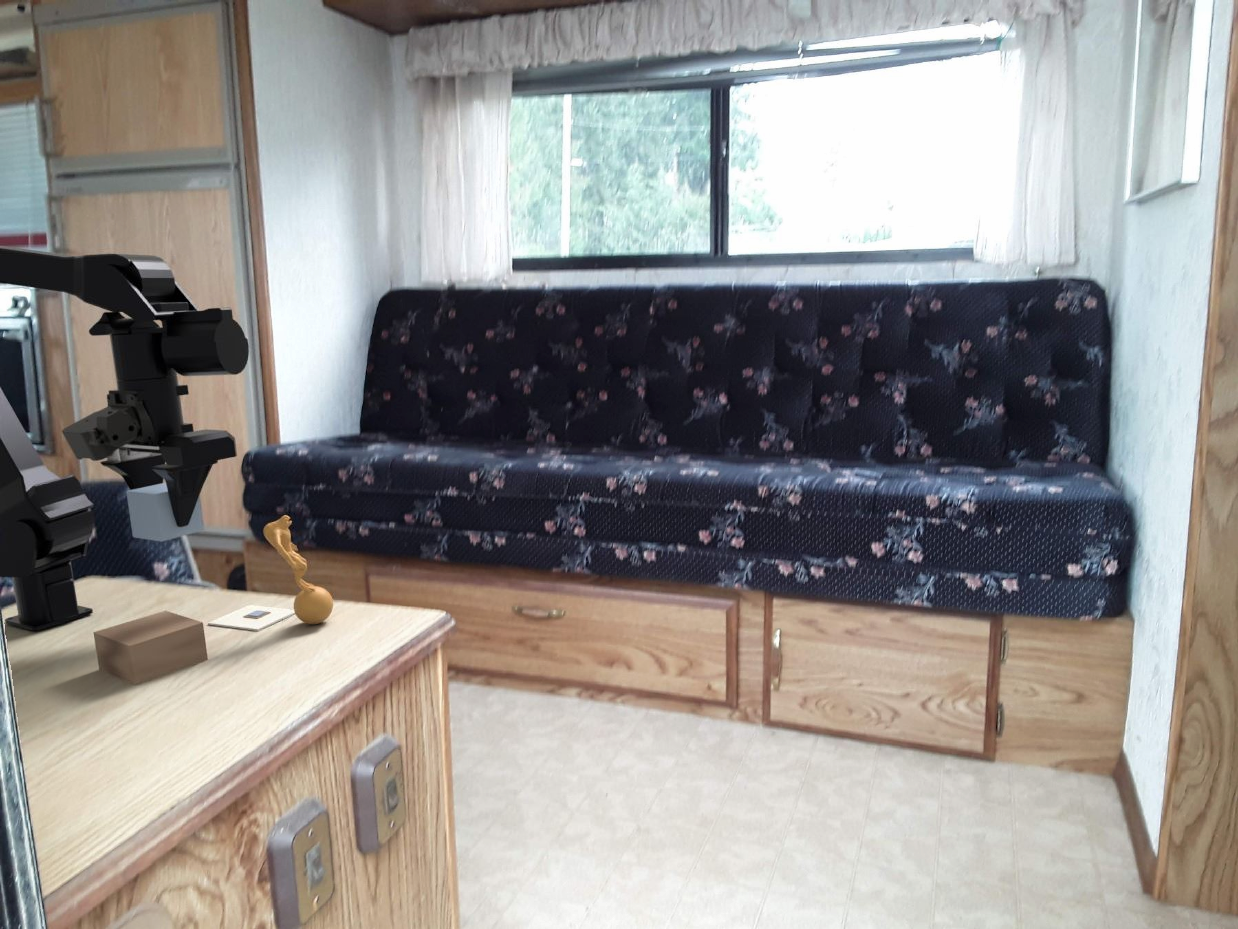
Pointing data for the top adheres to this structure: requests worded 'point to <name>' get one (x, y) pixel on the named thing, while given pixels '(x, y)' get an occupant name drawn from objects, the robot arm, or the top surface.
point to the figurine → (299, 575)
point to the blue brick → (158, 514)
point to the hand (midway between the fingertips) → (167, 524)
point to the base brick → (150, 647)
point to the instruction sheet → (253, 617)
